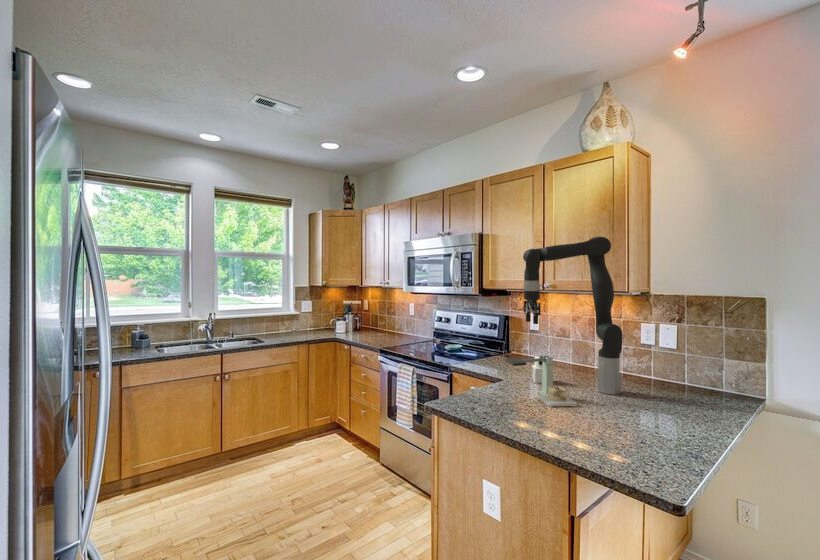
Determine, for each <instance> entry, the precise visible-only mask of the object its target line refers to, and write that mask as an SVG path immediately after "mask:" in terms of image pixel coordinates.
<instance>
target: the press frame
mask: <svg viewBox="0 0 820 560" xmlns="http://www.w3.org/2000/svg"><path fill="white" fill-rule="evenodd" d="M542 356H543V358H544V357H545V356H546V355H542ZM547 356H548V357H550V355H547ZM541 387H542V388H541V389H540V390H539V394H538V395H537V399H539V398H540V399H541V400H542V402H543V401H544V402H545V403H547V404H548V405H549V406H572V407H578V403H577V402H576V401H575V400H573V399H572V398H570V397H569V396H567V395H566V401H553V400H551V399H550V398H549V397H548V387H554V357H550V358H547V361H543V362H542V383H541ZM540 399H539V400H540ZM541 400H540V401H541ZM544 402H543V403H544ZM545 403H544V404H545ZM547 404H546V405H547ZM548 405H547V406H548ZM549 406H548V407H549Z"/></svg>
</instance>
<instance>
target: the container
mask: <svg viewBox="0 0 820 560" xmlns="http://www.w3.org/2000/svg"><path fill="white" fill-rule="evenodd" d="M543 356H544V355H540V356H539V355H537V356H535V357H534V359H536V358H543ZM542 362H543V361H539V362H534V364H532V366H531V380H532V381H533V382H534V383H535V384H542Z"/></svg>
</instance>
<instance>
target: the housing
mask: <svg viewBox="0 0 820 560" xmlns="http://www.w3.org/2000/svg"><path fill="white" fill-rule="evenodd" d="M566 396H567V389H565V388H564V387H562V386H553V387H548V397H549V398H550V399H551V400H553V401H566Z"/></svg>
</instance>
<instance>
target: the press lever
mask: <svg viewBox="0 0 820 560" xmlns="http://www.w3.org/2000/svg"><path fill="white" fill-rule="evenodd" d="M544 356H545V357H544V358H536V359H535V358H528V359H527V358H526V359H521V358H519V357H507V358H505V362H507V363H508V364H509V365H511V366H513V367H520V366H527V364H528V363H535V362H539V361H547V358H551V357H550V356H549V355H544ZM548 356H549V357H548Z"/></svg>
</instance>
